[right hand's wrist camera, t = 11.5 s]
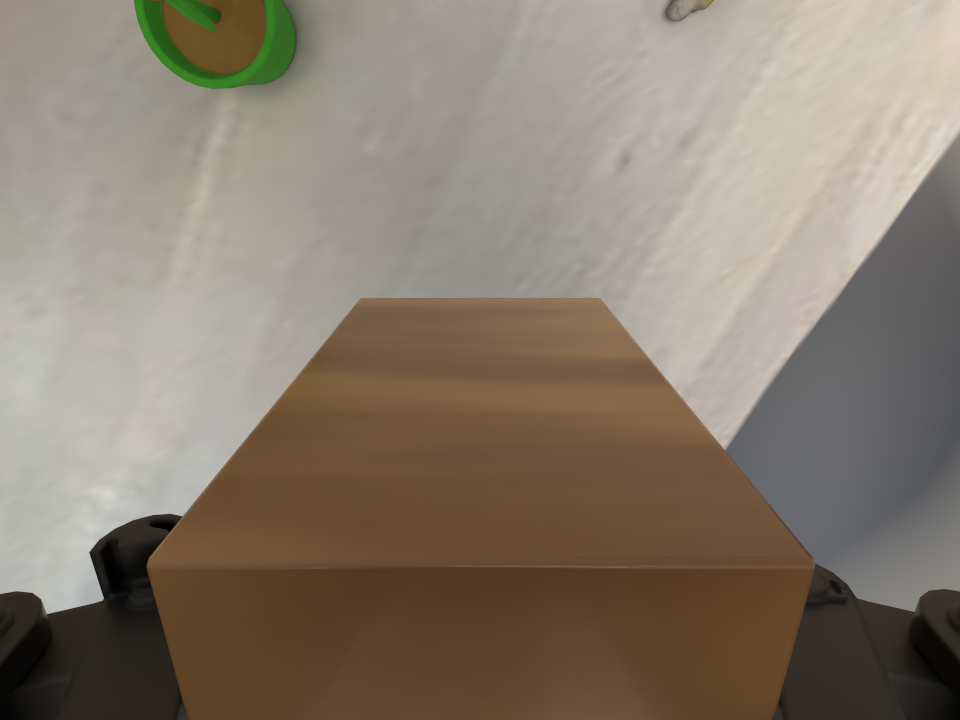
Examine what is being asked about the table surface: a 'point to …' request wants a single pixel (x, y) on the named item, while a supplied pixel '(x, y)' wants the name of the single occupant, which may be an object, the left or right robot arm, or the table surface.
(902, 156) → the table surface
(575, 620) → the box
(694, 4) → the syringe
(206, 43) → the potted flower
